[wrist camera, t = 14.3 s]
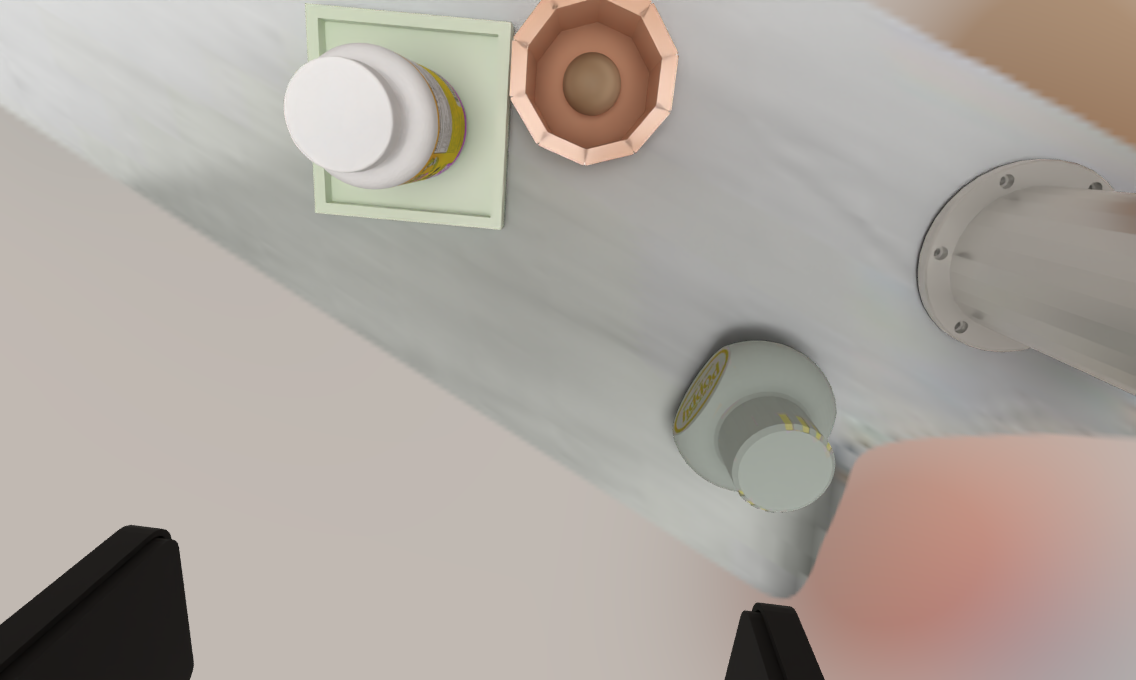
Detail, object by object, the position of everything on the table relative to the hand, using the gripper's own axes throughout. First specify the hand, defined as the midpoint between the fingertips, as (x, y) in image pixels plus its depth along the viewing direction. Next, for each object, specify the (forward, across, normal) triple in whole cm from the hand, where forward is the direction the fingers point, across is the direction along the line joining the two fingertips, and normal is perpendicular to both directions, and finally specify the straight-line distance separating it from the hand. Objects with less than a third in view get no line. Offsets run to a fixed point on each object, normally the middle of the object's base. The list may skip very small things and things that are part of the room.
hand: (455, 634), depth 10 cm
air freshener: (+33, -14, +9) cm, 37 cm away
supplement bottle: (+32, +10, -8) cm, 34 cm away
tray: (+32, +10, -8) cm, 35 cm away
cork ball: (+31, 0, -11) cm, 33 cm away
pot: (+32, 0, -11) cm, 34 cm away
